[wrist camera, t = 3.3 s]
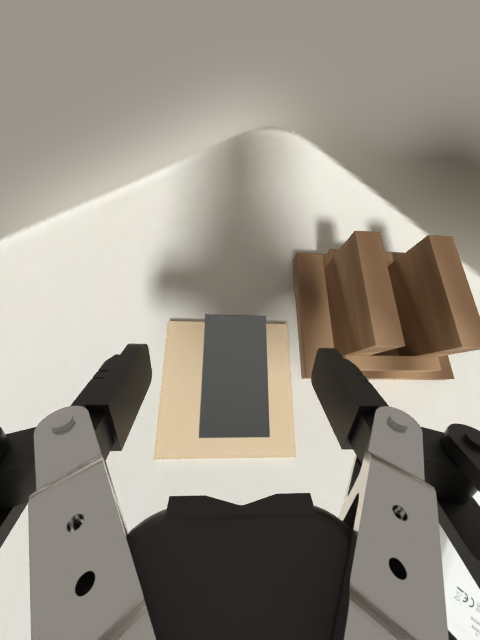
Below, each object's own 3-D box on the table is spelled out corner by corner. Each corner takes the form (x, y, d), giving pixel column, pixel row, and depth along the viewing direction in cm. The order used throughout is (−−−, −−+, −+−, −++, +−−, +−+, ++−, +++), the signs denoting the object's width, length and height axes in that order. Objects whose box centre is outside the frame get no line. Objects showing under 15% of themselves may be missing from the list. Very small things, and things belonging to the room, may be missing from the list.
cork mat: (154, 458, 16) (153, 459, 16) (169, 322, 19) (168, 320, 19) (294, 455, 17) (295, 456, 16) (286, 325, 20) (287, 324, 20)
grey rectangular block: (212, 412, 17) (198, 437, 7) (214, 358, 18) (205, 314, 8) (241, 412, 17) (269, 437, 7) (241, 358, 18) (265, 315, 8)
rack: (301, 378, 18) (339, 371, 13) (292, 260, 22) (318, 211, 16) (440, 379, 19) (536, 373, 13) (410, 265, 23) (476, 221, 17)
